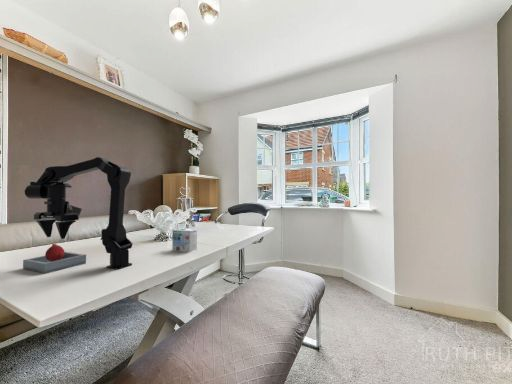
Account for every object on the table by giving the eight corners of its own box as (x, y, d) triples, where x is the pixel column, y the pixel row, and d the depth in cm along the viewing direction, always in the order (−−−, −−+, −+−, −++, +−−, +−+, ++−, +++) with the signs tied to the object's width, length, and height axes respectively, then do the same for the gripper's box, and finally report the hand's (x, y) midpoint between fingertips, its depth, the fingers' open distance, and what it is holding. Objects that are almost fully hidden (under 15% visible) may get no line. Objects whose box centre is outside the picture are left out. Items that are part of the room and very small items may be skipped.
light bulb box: (171, 250, 117) (171, 229, 117) (179, 248, 123) (179, 227, 123) (190, 252, 114) (190, 230, 114) (197, 249, 120) (197, 228, 120)
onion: (69, 260, 94) (67, 240, 94) (55, 264, 88) (53, 243, 88) (57, 261, 95) (55, 242, 95) (42, 265, 89) (40, 245, 89)
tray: (85, 263, 95) (86, 254, 95) (44, 273, 82) (44, 264, 82) (64, 259, 101) (65, 251, 101) (23, 269, 88) (23, 259, 88)
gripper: (92, 198, 96) (92, 236, 96) (64, 198, 103) (64, 233, 103) (62, 199, 86) (61, 241, 85) (33, 198, 92) (32, 237, 92)
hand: (55, 237), depth 92 cm, fingers open, 9 cm apart
